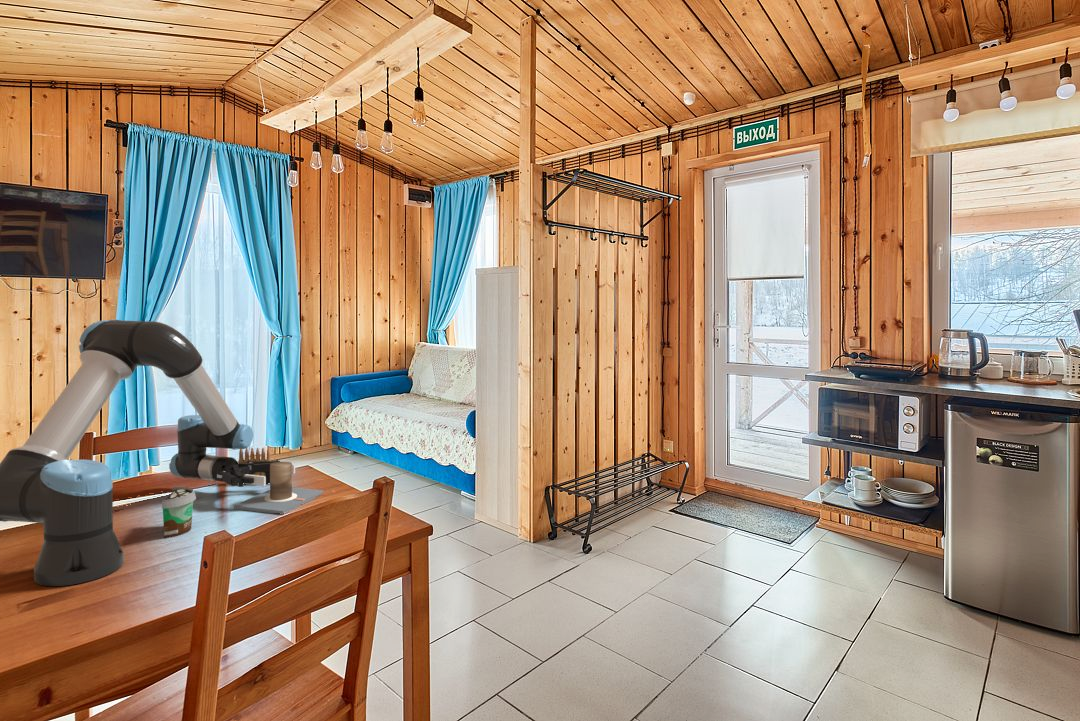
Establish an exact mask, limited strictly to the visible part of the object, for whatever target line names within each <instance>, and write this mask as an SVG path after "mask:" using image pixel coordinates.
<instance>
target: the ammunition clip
mask: <svg viewBox="0 0 1080 721" xmlns="http://www.w3.org/2000/svg"><path fill="white" fill-rule="evenodd" d="M248 448H249V447H247V448H245V450H244V449H239V452H238V454H239V455H238V463H247V461H272V456H271V455H272V454H271V449H270V447H268V448H267V451H266V450H265V448H264V447H262V449H261V452H260V448H259V447H256V451H255V449H254V447H251V449H250V452H249V449H248ZM243 450H244V451H243ZM250 472H251V470H250ZM251 475H258V476H266V483H270V471H267V472H255V473H254V474H251ZM243 477H244V476H243Z"/></svg>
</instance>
